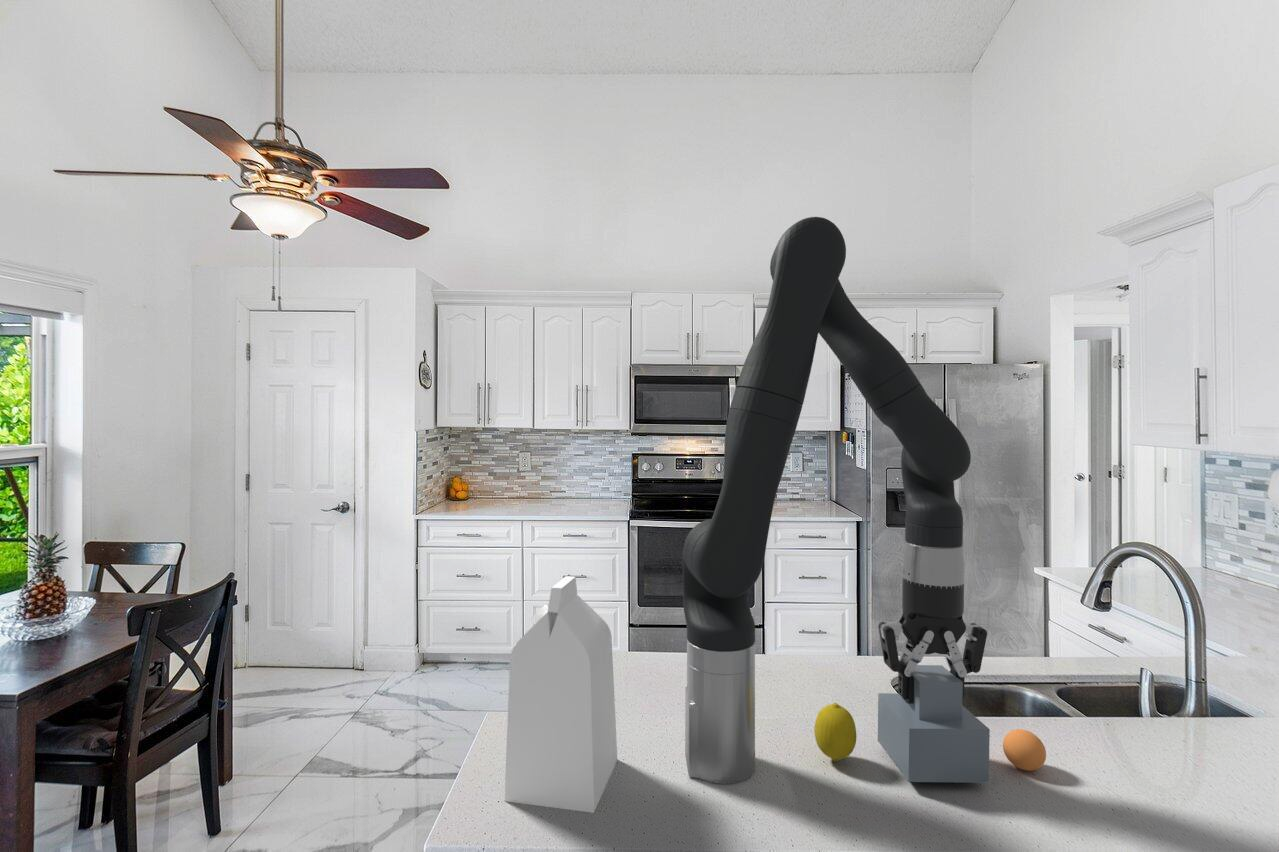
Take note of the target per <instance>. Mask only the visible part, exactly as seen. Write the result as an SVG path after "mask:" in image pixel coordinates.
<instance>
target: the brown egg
mask: <svg viewBox="0 0 1279 852" xmlns="http://www.w3.org/2000/svg"><path fill="white" fill-rule="evenodd" d="M1002 749H1003V752H1004V755H1005V758H1007V760H1008V761H1009V762H1010V764H1012V765H1013V766H1014V767H1016V768H1018V769H1020V770H1022V771H1029V772H1032V771H1036V770H1038V769H1040V768H1041V767H1043V765H1044V764H1045V762H1046V758H1047V751H1046V747H1045V745H1044V743H1043V742H1042V740H1041V739H1040V738H1039V736H1037V735H1036V734H1035V733H1033V732H1031V731H1029V730H1026V729H1021V728H1018V729H1013V730H1010V731H1009V732H1007V734H1006V735H1004V737H1003V741H1002Z"/></svg>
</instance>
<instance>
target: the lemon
mask: <svg viewBox="0 0 1279 852" xmlns="http://www.w3.org/2000/svg"><path fill="white" fill-rule="evenodd" d="M814 738H815V741H816V744H817V747H818V748H819V750H820V751H821V752H822V754H824V756H826V757H827V758H830V759H831V760H832V761H833V762H835V763H836V762H838V761H839V760H843V759H845V758H847V757H849V756H850V755H851V754H852V753H853V752H854V749H855V747H856V744H857V728H856V722H855V720H854V718H853V716H852V714H851V713H850V712H849V711H848V710H847V709H846V708H845V707H844V706H842V705H839V703H837V702H832V703H831V704H827V705H825V706H823V707H822V708H821V709H820V710H819V711H818V713H817V715H816V719H815V723H814Z"/></svg>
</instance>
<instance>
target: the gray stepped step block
mask: <svg viewBox="0 0 1279 852" xmlns="http://www.w3.org/2000/svg"><path fill="white" fill-rule="evenodd" d="M949 671H950V670H948V669H947V668H946V667H944V666H943V665H942V664H941V665H940V664H938V665H935V664H934V665H933V664H928V665H927V664H924V665H923V664H917V667H916V669H915V671H914V673H913V675H912V676H913V677H914V703H913V704H907V703H906V702H905V700H904V699H903V698H902V697H901V696H900V695H899V693H895V692H894V693H892V692H891V693H890V692H889V693H888V692H887V693H878V694H877V696H878V697H877V698H878V699H877V742H878V743H879V745H880V746H881V747H882V749H883V750H884V751H885V752H886V754H887V755H888V756H889V758H890V760H891V761H892V763H894V764H895V767H897V768H898V770H899V771H900V773H901V774H902V775H903V777H904V779H906V781H907V782H908V783H977V784H978V783H979V784H980V783H985V784H987V783H990V739H991V738H990V733H991V730H990V728H989V727H987V726H986V725H985V724H984V723H983V722H982V721H981V720H980V719H979V718H978V717H976V716H975V714H973V713H972V712H971V711H970V710H969V709H967V708H966V707H965V706H964V705H963V700H962V697H963V682H962V681H961V680H959V679H958V678H957V677H956V676H954V675H953V674H952V673H951V672H949Z"/></svg>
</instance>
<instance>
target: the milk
mask: <svg viewBox="0 0 1279 852" xmlns="http://www.w3.org/2000/svg"><path fill="white" fill-rule="evenodd" d="M576 579H577V578H576V576H568V575H567V576H566V575H565V576H564V577H563V578H561V580H559V581H558V582H557V583H555V584H554V585H552V587H551V588H550V594H549V600H548V605H547V604H544V605H543V606H542V607H540V608H539V609H538V611H536V612H535V614H534V615H533V616H532V617H531V618H530V621H531V622H532V623H533V626H532V627H530V629H529V630H528V631H527V632H526V633H525V634H524V635H522V637H521V638H520V639H519V640H518V641H517V642H516V643H515V644H514V645H513V647H512V650H511V652H510V657H509V673H508V676H509V678H508V698H507V699H508V700H507V702H508V703H507V724H506V726H507V727H506V748H505V749H506V750H505V755H506V756H505V776H504V777H505V778H504V781H505V782H504V798H503V799H504V802H509V803H515V804H516V803H517V804H523V805H532V806H537V807H538V806H539V807H548V808H553V809H554V808H555V809H562V810H568V811H577V812H578V811H579V812H585V813H593V814H595V811H596V809H597V807H598V805H599V803H600V800H601V798H602V796H603V793H604V791H605V789H606V787H607V785H608V783H609V780H610V778H611V775H612V773H613V771H614V768H615V766H616V764H617V762H618V745H617V744H618V741H617V725H616V724H617V721H616V719H617V718H616V704H615V703H616V702H615V701H616V699H615V682H614V679H615V678H614V663H613V662H614V661H613V660H614V659H613V642H612V641H613V639H612V631H611V628H610V627H609V624H608V623H607V622H606V621H605V620H604V618H602V617H601V616H600V614H598V612H596V611H595V610H594V609H593V608H592V607H591V606H590V605H589V604H588V603H587V602H586V601H584V599H582V598H581V597H580V595H578V588H577V580H576Z"/></svg>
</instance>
